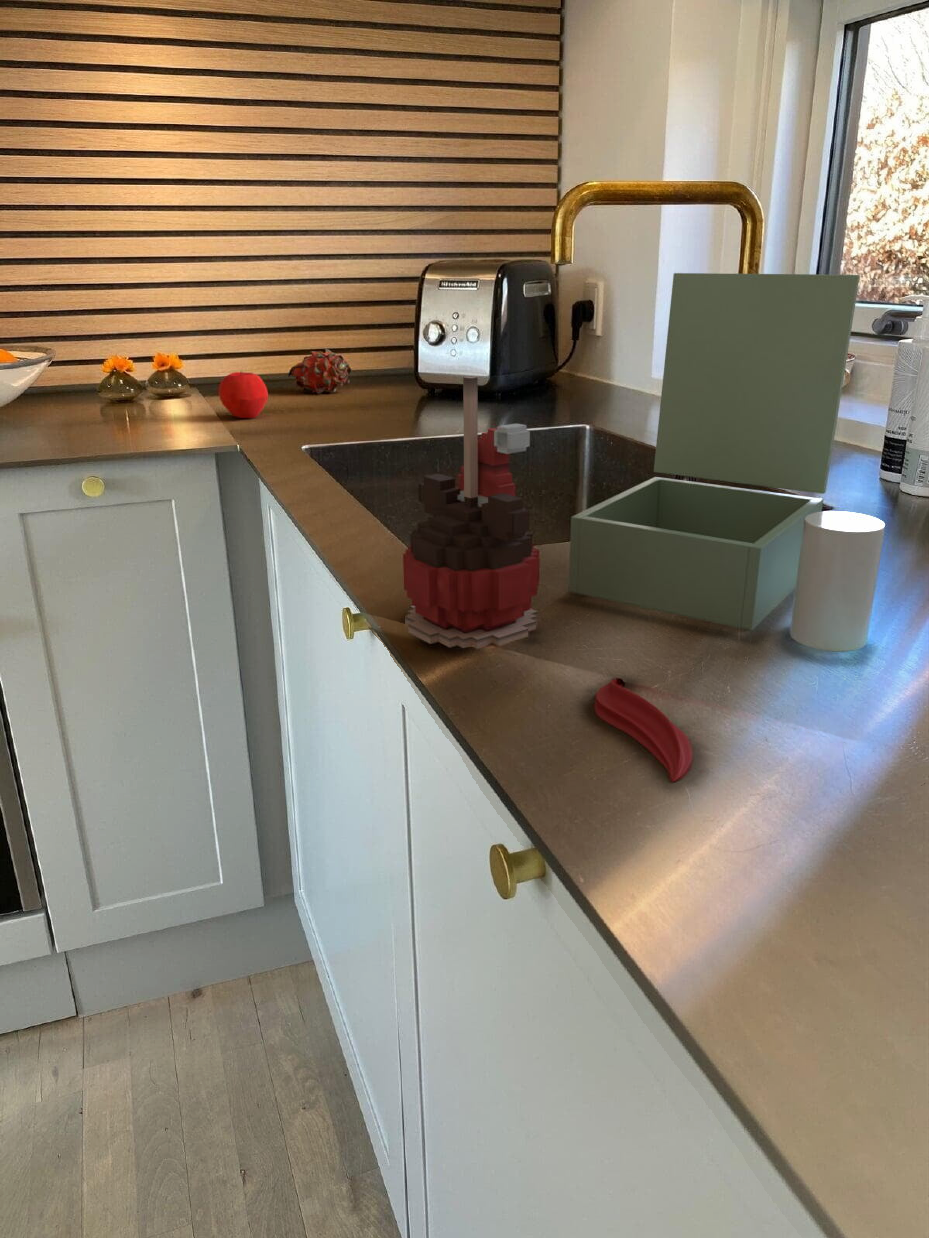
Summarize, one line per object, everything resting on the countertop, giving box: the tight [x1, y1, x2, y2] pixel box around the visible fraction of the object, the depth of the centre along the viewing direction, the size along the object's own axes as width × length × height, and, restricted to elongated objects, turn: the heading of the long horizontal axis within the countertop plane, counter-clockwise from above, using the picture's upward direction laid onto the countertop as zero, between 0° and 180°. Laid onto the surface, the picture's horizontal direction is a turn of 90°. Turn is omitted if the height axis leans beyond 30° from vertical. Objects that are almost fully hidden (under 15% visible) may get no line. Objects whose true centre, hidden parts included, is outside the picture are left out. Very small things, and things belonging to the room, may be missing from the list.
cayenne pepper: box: [594, 677, 693, 783], centre depth 54 cm, size 12×5×2 cm, turn 179°
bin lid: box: [653, 272, 861, 495], centre depth 78 cm, size 16×15×5 cm
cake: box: [402, 375, 540, 650], centre depth 65 cm, size 11×9×18 cm
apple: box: [218, 370, 269, 419], centre depth 152 cm, size 8×8×7 cm
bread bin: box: [568, 476, 824, 631], centre depth 75 cm, size 16×15×7 cm
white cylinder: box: [789, 510, 887, 652], centre depth 63 cm, size 5×5×9 cm
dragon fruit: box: [287, 348, 352, 395], centre depth 177 cm, size 8×8×12 cm
